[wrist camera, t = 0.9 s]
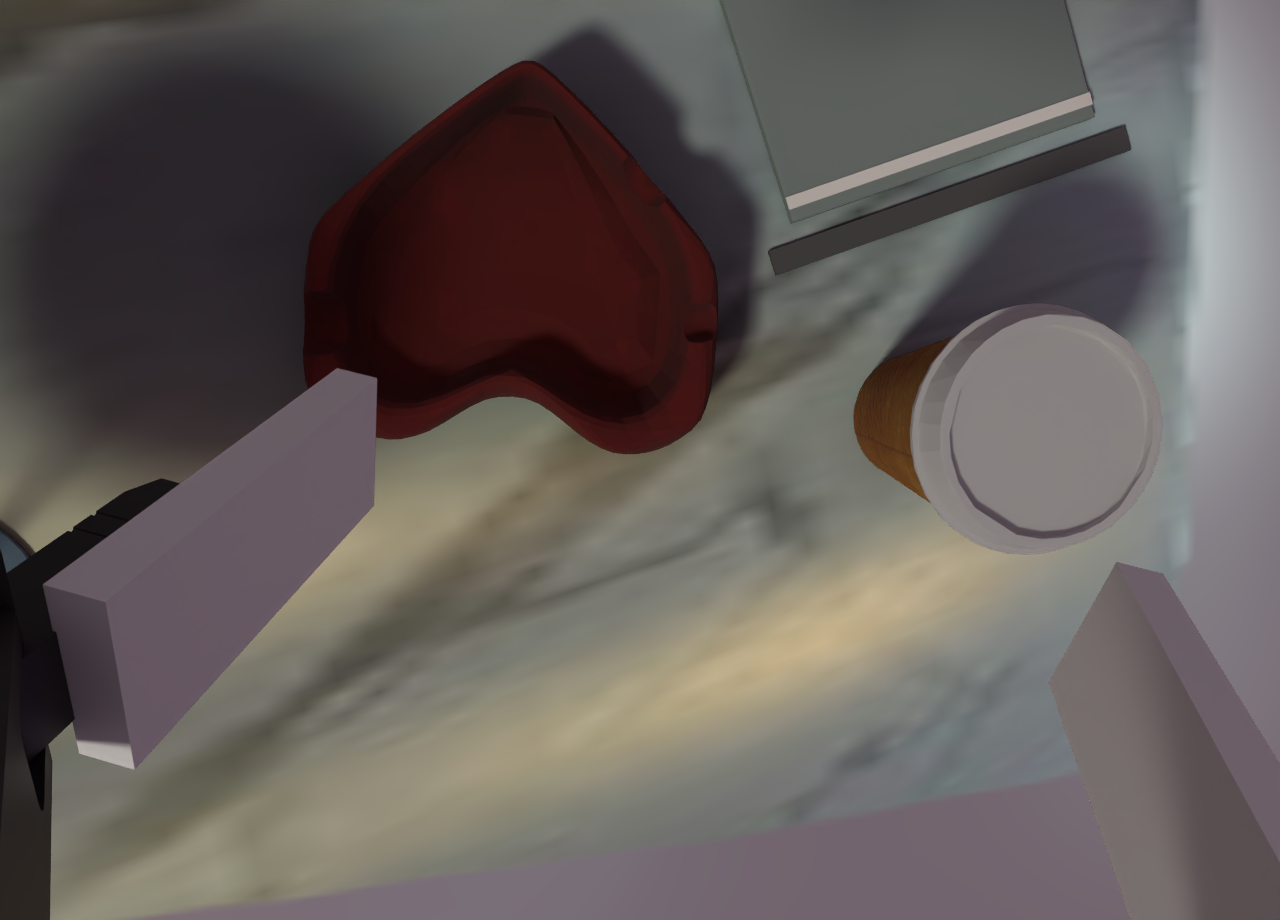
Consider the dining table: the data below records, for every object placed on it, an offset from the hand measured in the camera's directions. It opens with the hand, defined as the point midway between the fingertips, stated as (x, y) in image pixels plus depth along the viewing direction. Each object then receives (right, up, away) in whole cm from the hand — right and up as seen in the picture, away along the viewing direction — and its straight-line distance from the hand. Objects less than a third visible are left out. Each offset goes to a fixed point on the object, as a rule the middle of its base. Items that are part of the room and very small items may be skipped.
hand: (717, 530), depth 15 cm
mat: (+11, +22, +25) cm, 35 cm away
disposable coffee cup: (+12, +3, +28) cm, 30 cm away
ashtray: (-7, +10, +25) cm, 28 cm away
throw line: (+14, +14, +27) cm, 33 cm away
